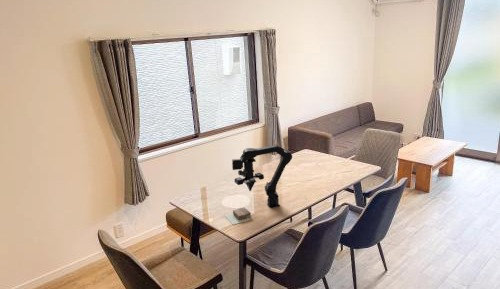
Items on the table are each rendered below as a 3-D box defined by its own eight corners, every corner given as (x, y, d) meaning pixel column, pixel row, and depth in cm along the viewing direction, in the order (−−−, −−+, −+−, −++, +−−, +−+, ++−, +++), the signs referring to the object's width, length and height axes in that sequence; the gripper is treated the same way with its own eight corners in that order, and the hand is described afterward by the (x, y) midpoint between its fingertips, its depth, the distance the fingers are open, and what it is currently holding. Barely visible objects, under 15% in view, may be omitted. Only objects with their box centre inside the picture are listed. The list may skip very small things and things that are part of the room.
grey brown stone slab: (244, 207, 233) (232, 210, 230) (250, 212, 225) (238, 216, 222) (244, 211, 234) (233, 214, 231) (250, 217, 226) (239, 220, 223)
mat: (241, 210, 236) (241, 210, 235) (251, 219, 223) (250, 219, 223) (224, 215, 231) (224, 215, 231) (233, 225, 219) (233, 224, 219)
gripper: (255, 161, 242) (257, 183, 247) (230, 167, 234) (231, 189, 239) (263, 166, 232) (265, 189, 237) (237, 172, 225) (239, 195, 229)
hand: (250, 190), depth 236 cm, fingers closed
